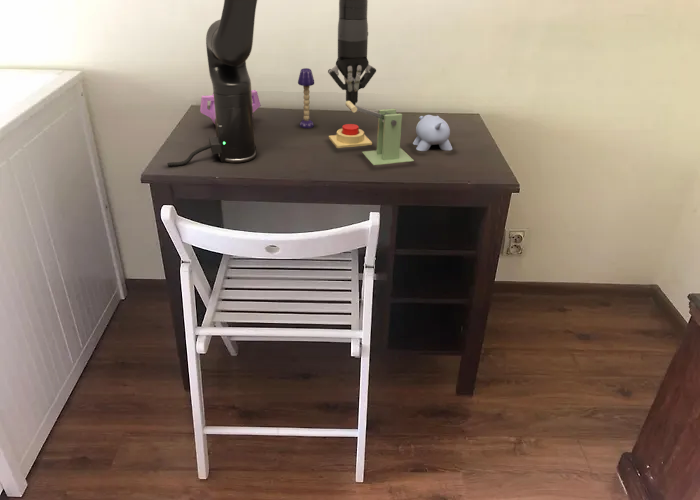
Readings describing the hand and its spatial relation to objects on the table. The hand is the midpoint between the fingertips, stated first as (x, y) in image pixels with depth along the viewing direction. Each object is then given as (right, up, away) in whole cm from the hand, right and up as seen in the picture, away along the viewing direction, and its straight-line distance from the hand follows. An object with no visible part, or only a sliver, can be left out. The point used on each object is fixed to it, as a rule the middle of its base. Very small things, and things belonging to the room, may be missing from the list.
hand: (351, 104), depth 158 cm
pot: (-35, -3, +16) cm, 38 cm away
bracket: (+9, -15, -3) cm, 18 cm away
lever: (+5, -6, -11) cm, 13 cm away
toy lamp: (-13, -2, +17) cm, 22 cm away
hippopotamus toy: (+22, -10, +6) cm, 25 cm away
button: (0, -7, +4) cm, 8 cm away
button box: (0, -10, +6) cm, 11 cm away
